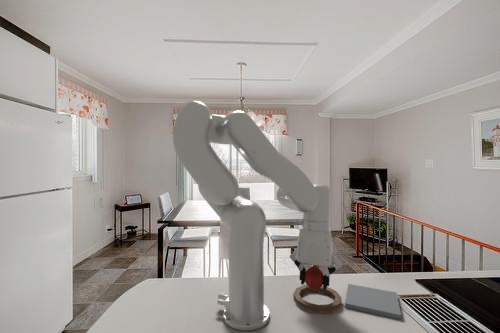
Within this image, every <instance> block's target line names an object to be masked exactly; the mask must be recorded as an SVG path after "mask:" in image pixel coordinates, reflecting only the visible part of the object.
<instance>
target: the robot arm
mask: <svg viewBox="0 0 500 333" xmlns="http://www.w3.org/2000/svg"><path fill="white" fill-rule="evenodd" d="M172 128H173V129H172V142H173V143H172V144H173V147H174V148H173V149H174V150H175V151H174V152H175V154H176V156H177V158H178V160H179V162H180V163H181V165H182V167H184V169H185V170H186V171H187V172H188V174H189V175H190V176H191V178H192V179H193V180H194V182H195V183H196V184H197V186H198V187H197V188H198V191H199V194H200V195H201V196H202V198H203V200H205V201H206V203H207V204H208V205H209V206H210V208H211V209H212V210H213V211H214V213H215V214H216V215H217V217H219V219H220V220H221V221H222V222H223V223H224V224H225V225H226V226H227V227H228V228H229V232H230V234H229V240H228V248H227V249H228V251H227V254H228V256H227V258H228V294H227V293H223V292H219V293H218V296H217V298H218V299H217V305H219V306H224V307H225V308H224V310H223V313H222V315H223V317H222V318H223V321H224V323H225V324H226V325H227V326H229V327H230V328H231V329H235V330H239V331H253V330H257V329H260V328H262V327H264V326H265V325H267V323H268V322H269V320H270V319H271V317H270V316H271V314H270V309H269V308H268V306H267V305H266V304H265V302H264V301H265V299H264V298H265V295H264V294H265V288H264V287H265V285H264V284H265V282H264V279H265V278H264V276H265V275H264V270H265V268H264V263H265V262H264V246H265V245H264V242H265V236H266V234H265V233H266V228H267V227H266V226H267V217H266V213H265V211H264V209H263V208H262V207H261V206H260V205H259V204H258V203H256V202H255V201H254V200H250V199H248V198H245V197H244V196H243V195H242V193H241V192H240V185H239V182H238V179H237V178H236V177H235V175H234V174H233V173H232V172H231V171H230V169H229V168H228V167H227V166H226V164H225V163H224V162H223V161H222V160H221V158H220V157H219V155H217V154H218V153H216V151H215V150H214V148H213V146H212V144H217V145H218V144H219V145H232V146H233V147H234V149H235V150H236V151H237V152H238V153H239V155H240V156H241V157H242V158H243V159H244V160H245V162H246V163H247V164H248V165H249V167H250V168H251V169H252V170H253V171H254V172H255V173H257V174H258V175H260V176H263V177H264V178H266V179H268V180H269V181H271V182H272V183H274V184H275V185H276V186H277V187H278V189H277V191H276V199H277V202H278V203H279V204H280V205H281V206H283V207H285V208H287V209H290V210H294V211H295V212H300V213H302V217H303V218H302V219H298V225H301V226H302V227H301V228H300V229H299V232H298V239H297V246H296V249H295V250H294V251H293V252H292V253H291V254H290V255H289V258H290V260H291V261H292V262H293V263H294V265H295V266H296V267H297V268H298V271H299V281H300V284H301V286H303V285H305V284H306V282H305V273H306V271H307V269H306V265H311V266H313V265H314V266H317V267H321V268H323V271H324V272H323V275H324V278H323V285H322V286H323V289H324V290H326V288H327V287H329V286H330V280H331V279H330V276H331V275H332V274H333V273H335V272H336V270H338V269H340V268H341V267H342V264H343V263H342V261H341V260H340V259H339V258H338V257H337V256H336V255H335V254H334V247H333V246H334V245H333V238H332V237H333V236H332V235H333V234H332V230H329V229H330V228H329V227H330V201H331V200H330V197H331V196H330V195H331V194H330V192H331V191H330V187H329V186H328V185H326V184H321V183H319V184H318V183H313V182H312V181H311V180H310V178H309V177H308V176H307V175H306V174H305V173H304V172H303V170H302V169H301V168H299V167H298V165H296V164H295V163H294V162H292V161H291V160H290V159H289V158H288V157H286V156H285V155H284V154H282V153H281V152H279V150H278V149H276V147H275V146H274V145H273V143H272V142H271V141H270V140H269V139H268V137H267V136H266V134H264V132H263V131H262V130H261V128H260V127H259V126H258V124H256V121H254V120H253V118H252V117H251V116H250V115H249V114H248V113H247V112H245V111H243V110H235V111H231V112H230V113H228V114H226V115H220V114H214V113H213V114H212V112H211V110H210V108H209V107H208V105H207V104H205V103H204V102H201V101H199V100H191V101H188V102H185V104H184V105H182V106H181V108H180V109H179V110H178V113H177V115H176V118H175V121H174V124H173V127H172ZM332 263H333V265H332Z"/></svg>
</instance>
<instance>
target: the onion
mask: <svg viewBox="0 0 500 333" xmlns="http://www.w3.org/2000/svg"><path fill="white" fill-rule="evenodd" d="M323 278H324V272H323V271H322V270H321V269H320V268H319V266H314V265H311V267H309V268H307V269H306V273H305V285H307V286H308V287H309V288H310V289H312V290H313V291H316V290H317V289H319V288H321V287H322V286H323Z"/></svg>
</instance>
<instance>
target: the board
mask: <svg viewBox="0 0 500 333" xmlns="http://www.w3.org/2000/svg"><path fill="white" fill-rule="evenodd" d="M344 307H345V309H350V310H357V311H360V312H364V313H370V314H375V315H378V316H383V317H387V318H393V319H396V320H397V319H398V320H402V311H401V308H400V303H399V298H398V294H397V292H395V291H392V290H391V291H390V290H385V289H379V288H374V287H373V288H372V287H369V286H364V285H357V284H351V283H348V284H347V289H346V295H345V302H344Z"/></svg>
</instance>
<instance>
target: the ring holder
mask: <svg viewBox="0 0 500 333" xmlns="http://www.w3.org/2000/svg"><path fill="white" fill-rule="evenodd" d="M314 292H315V293H321V294H325V295H327V296H329V297H331V298H332V299H333V301H332V302H330V303H328V304H316V303H311V302H308V301H307V300H305V299H303V298H302V297H301V296H302V295H304V294H305V293H314ZM292 294H293V295H292V297H293V300H294V302H295V305H296V306H298V307H299V308H301V309H302V310H304V311H305V312H310V313H314V314H318V315H324V314H326V315H327V314H333V313H335V312H337V311H339V310H341V306H342V296H341V294H340V293H339V292H337V290H334V289H333V288H331V287H329V286H327V288H326V290H324V289H323V285H322V287H321V288H319V289H317V290H316V291H313V290H312V289H310V288H309V287H308V286H307V284H303V285H301V286H298V287H296V288H295V290H294V291H293V293H292Z"/></svg>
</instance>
